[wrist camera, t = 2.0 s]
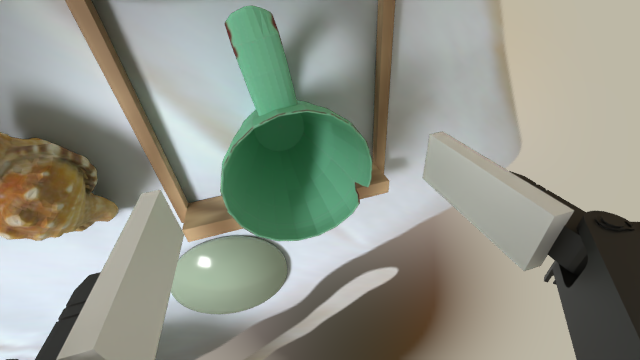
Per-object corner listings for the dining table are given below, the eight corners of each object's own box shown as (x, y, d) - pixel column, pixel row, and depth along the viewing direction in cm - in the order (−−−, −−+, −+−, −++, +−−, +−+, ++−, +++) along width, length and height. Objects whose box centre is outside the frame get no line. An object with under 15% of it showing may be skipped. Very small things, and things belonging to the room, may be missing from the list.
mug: (337, 154, 28) (378, 213, 20) (248, 184, 27) (255, 259, 19) (302, -11, 20) (351, -23, 12) (171, 25, 19) (125, 39, 11)
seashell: (5, 178, 23) (-218, 187, 13) (69, 111, 23) (-105, 70, 13) (89, 247, 24) (-61, 306, 14) (151, 183, 24) (45, 195, 14)
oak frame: (183, 216, 27) (177, 244, 24) (57, -31, 16) (12, -40, 13) (379, 170, 31) (396, 190, 28) (392, -54, 20) (423, -66, 16)
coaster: (194, 321, 37) (194, 325, 36) (148, 255, 29) (147, 259, 28) (293, 291, 39) (294, 295, 38) (276, 223, 31) (277, 226, 31)
